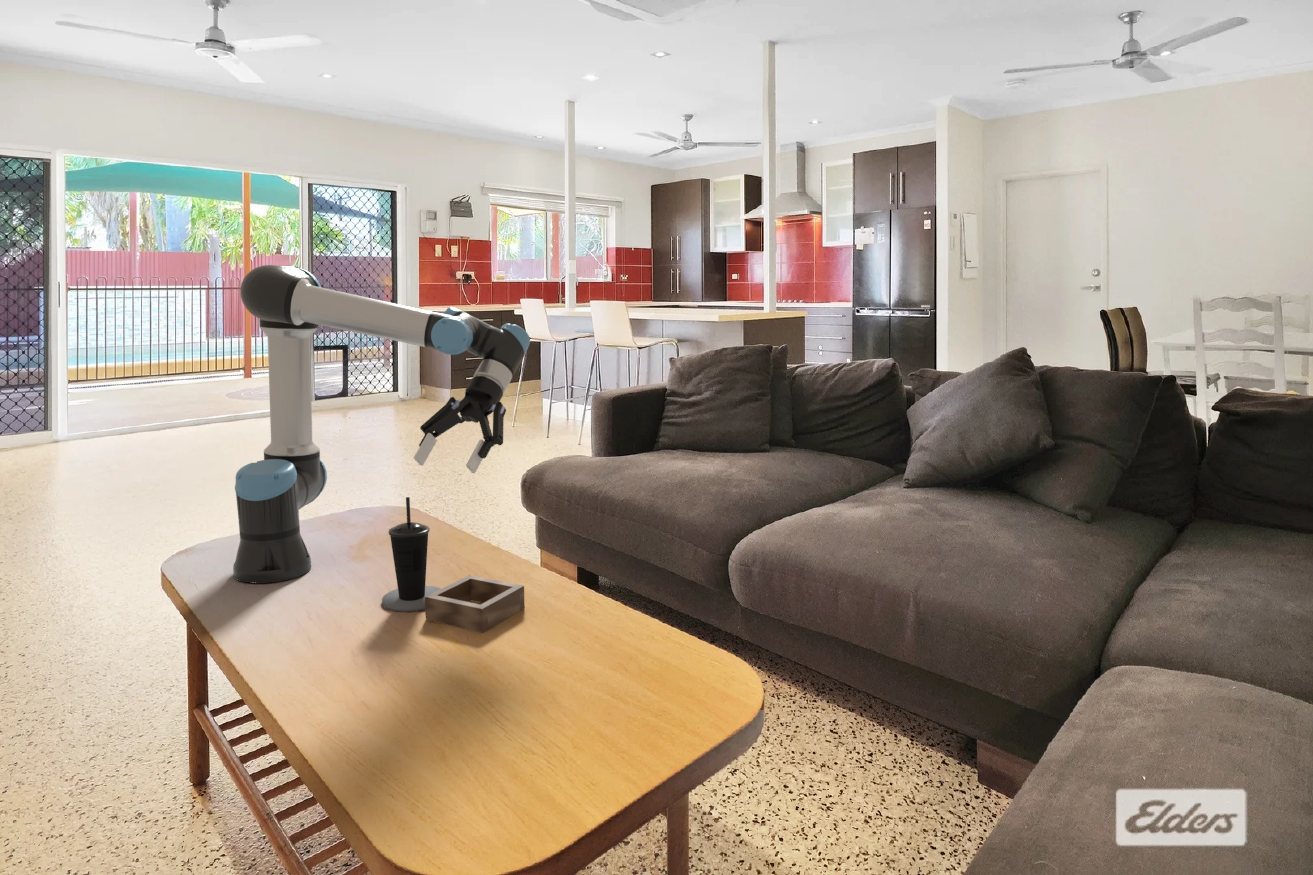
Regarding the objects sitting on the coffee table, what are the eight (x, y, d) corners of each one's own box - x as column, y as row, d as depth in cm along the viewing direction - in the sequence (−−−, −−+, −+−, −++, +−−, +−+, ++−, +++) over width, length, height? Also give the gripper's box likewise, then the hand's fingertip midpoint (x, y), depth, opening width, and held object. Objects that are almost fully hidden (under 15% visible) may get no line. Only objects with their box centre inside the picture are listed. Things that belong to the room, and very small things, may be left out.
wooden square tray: (425, 619, 153) (424, 596, 152) (470, 596, 165) (469, 575, 164) (482, 632, 148) (482, 608, 147) (524, 607, 159) (524, 585, 158)
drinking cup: (437, 590, 166) (434, 493, 162) (424, 604, 158) (419, 503, 155) (400, 588, 166) (396, 492, 163) (385, 602, 159) (380, 502, 155)
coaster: (368, 605, 160) (368, 601, 160) (411, 585, 170) (411, 581, 170) (417, 616, 155) (416, 612, 155) (458, 595, 165) (458, 591, 165)
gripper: (543, 400, 177) (501, 483, 167) (451, 391, 188) (406, 468, 177) (528, 378, 172) (484, 462, 161) (434, 370, 182) (387, 448, 172)
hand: (443, 465), depth 169 cm, fingers open, 13 cm apart
